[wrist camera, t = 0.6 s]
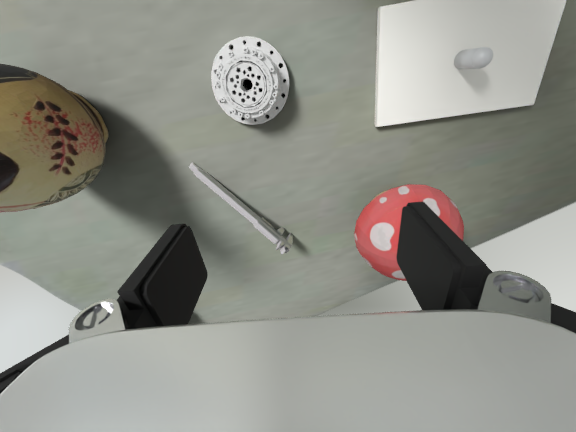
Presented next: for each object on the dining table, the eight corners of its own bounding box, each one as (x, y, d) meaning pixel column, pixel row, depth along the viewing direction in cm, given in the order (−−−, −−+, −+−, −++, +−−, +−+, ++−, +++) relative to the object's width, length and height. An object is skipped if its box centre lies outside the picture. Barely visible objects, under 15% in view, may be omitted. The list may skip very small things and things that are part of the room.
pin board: (377, 8, 29) (394, -4, 24) (567, -27, 27) (625, -47, 22) (374, 125, 35) (387, 134, 31) (527, 103, 33) (566, 109, 29)
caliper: (293, 232, 45) (292, 255, 40) (289, 236, 45) (288, 259, 40) (192, 161, 39) (176, 175, 33) (189, 166, 39) (172, 181, 34)
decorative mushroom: (374, 248, 46) (405, 318, 33) (327, 201, 41) (342, 260, 28) (442, 203, 41) (511, 265, 28) (398, 144, 37) (456, 184, 24)
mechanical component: (277, 132, 36) (299, 54, 31) (275, 139, 32) (300, 52, 28) (208, 109, 35) (221, 24, 30) (198, 114, 31) (210, 18, 26)
